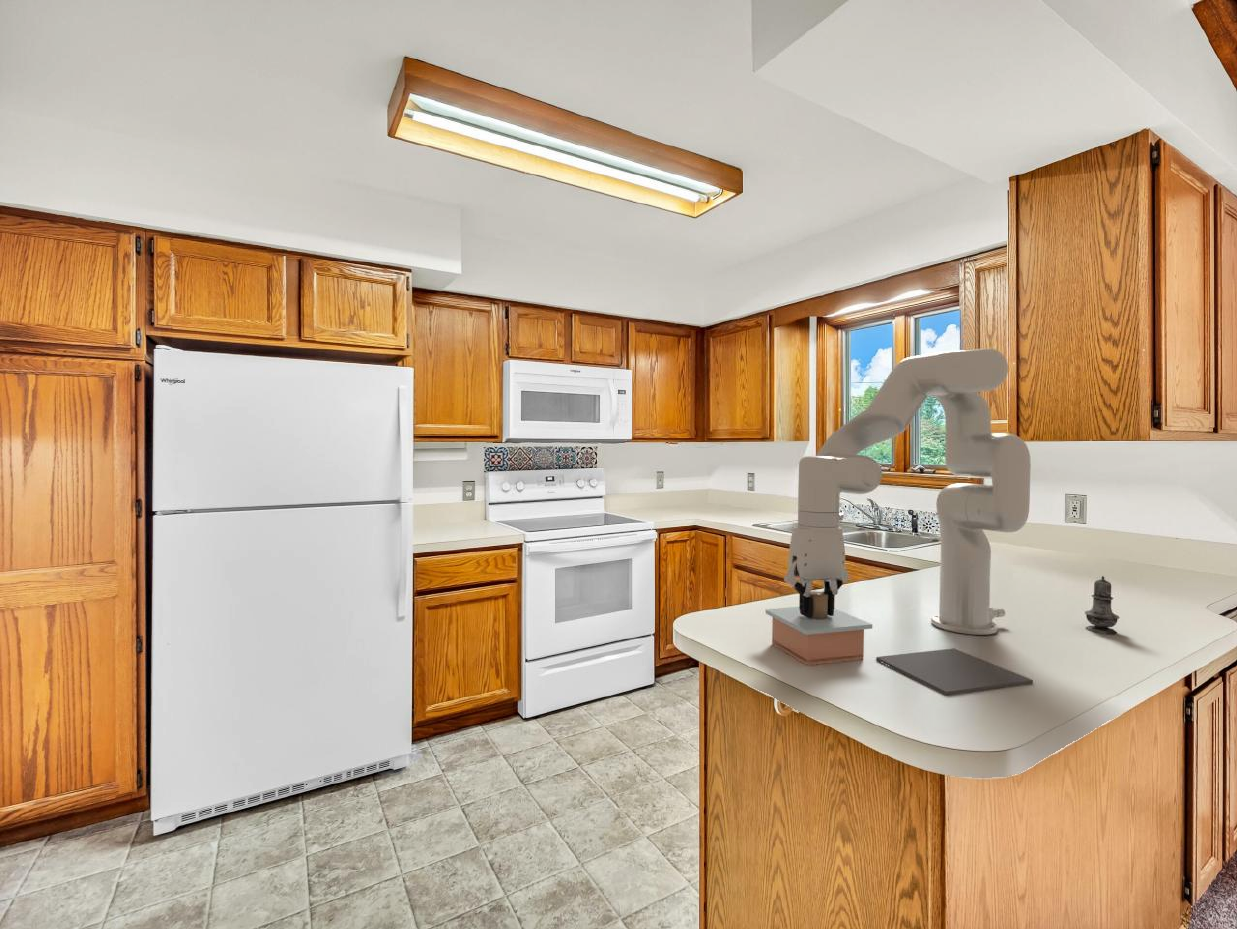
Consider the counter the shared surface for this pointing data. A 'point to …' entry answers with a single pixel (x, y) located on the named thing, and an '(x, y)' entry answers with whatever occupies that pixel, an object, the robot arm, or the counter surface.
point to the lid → (818, 618)
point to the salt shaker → (1102, 609)
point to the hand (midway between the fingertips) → (816, 613)
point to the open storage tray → (818, 644)
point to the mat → (953, 671)
